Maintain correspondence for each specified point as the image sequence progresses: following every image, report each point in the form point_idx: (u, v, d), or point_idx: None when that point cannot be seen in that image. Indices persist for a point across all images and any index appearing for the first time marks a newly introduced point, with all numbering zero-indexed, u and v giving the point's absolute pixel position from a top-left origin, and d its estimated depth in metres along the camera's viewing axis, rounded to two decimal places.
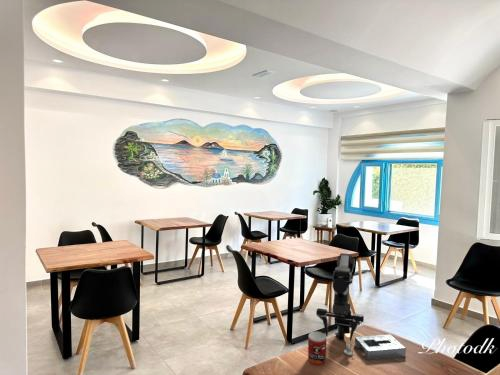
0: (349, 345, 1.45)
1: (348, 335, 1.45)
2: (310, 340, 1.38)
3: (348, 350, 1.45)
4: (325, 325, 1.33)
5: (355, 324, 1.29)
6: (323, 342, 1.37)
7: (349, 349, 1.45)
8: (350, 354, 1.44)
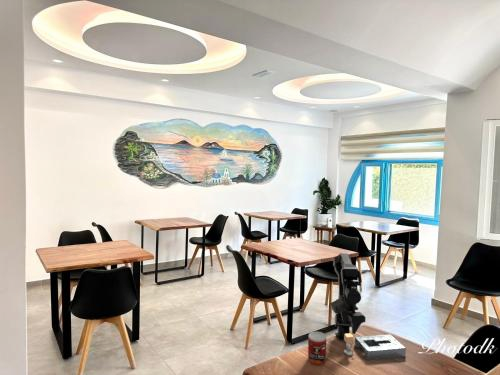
0: (349, 345, 1.45)
1: (348, 335, 1.45)
2: (310, 340, 1.38)
3: (348, 350, 1.45)
4: (341, 315, 1.50)
5: (351, 322, 1.39)
6: (323, 342, 1.37)
7: (349, 349, 1.45)
8: (350, 354, 1.44)
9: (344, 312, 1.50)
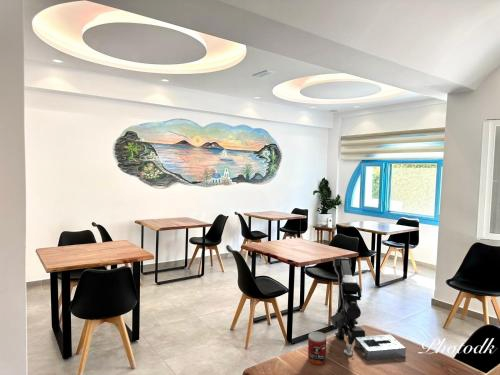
0: (349, 345, 1.45)
1: None
2: (310, 340, 1.38)
3: (348, 350, 1.45)
4: (343, 331, 1.48)
5: (347, 333, 1.42)
6: (323, 342, 1.37)
7: (349, 349, 1.45)
8: (350, 354, 1.44)
9: (347, 329, 1.48)
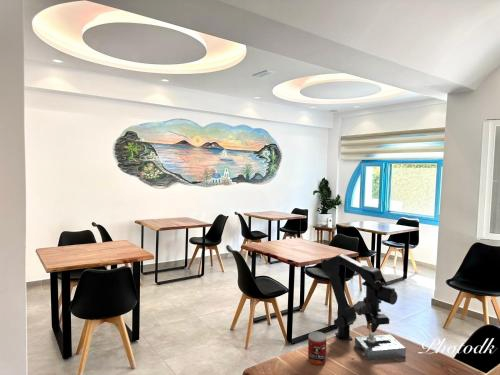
0: (372, 333, 1.46)
1: None
2: (310, 340, 1.38)
3: (371, 337, 1.47)
4: (366, 319, 1.49)
5: (371, 321, 1.43)
6: (323, 342, 1.37)
7: (372, 336, 1.47)
8: (373, 341, 1.46)
9: (369, 317, 1.49)
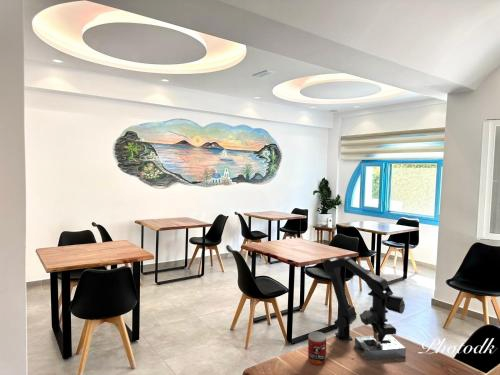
0: (379, 342, 1.47)
1: None
2: (310, 340, 1.38)
3: None
4: (373, 329, 1.50)
5: (378, 331, 1.44)
6: (323, 342, 1.37)
7: None
8: None
9: (376, 326, 1.50)
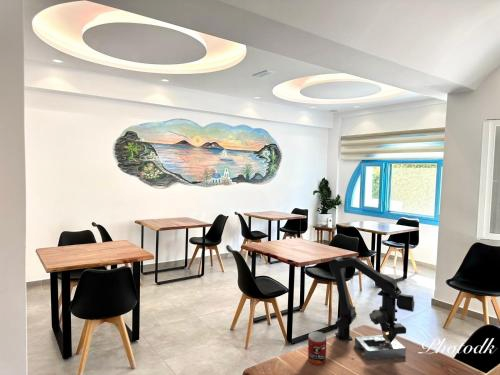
0: (388, 342, 1.48)
1: (387, 332, 1.48)
2: (310, 340, 1.38)
3: None
4: (381, 327, 1.51)
5: (388, 331, 1.44)
6: (323, 342, 1.37)
7: None
8: None
9: (384, 325, 1.51)
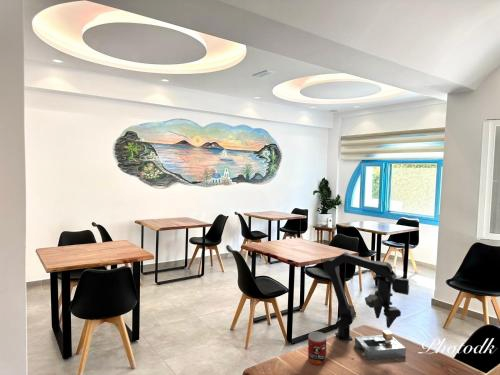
0: (388, 342, 1.48)
1: (387, 332, 1.48)
2: (310, 340, 1.38)
3: None
4: (374, 309, 1.56)
5: (386, 316, 1.44)
6: (323, 342, 1.37)
7: None
8: None
9: (377, 307, 1.55)
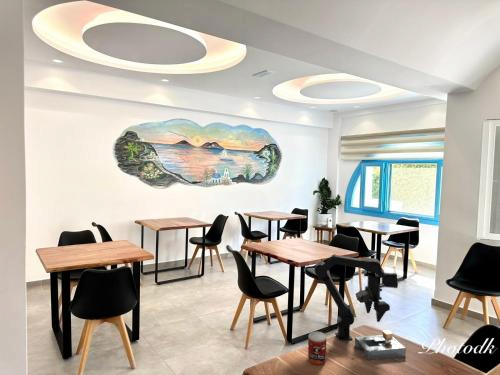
0: (388, 342, 1.48)
1: (387, 332, 1.48)
2: (310, 340, 1.38)
3: None
4: (365, 304, 1.61)
5: (376, 311, 1.49)
6: (323, 342, 1.37)
7: None
8: None
9: (368, 302, 1.60)
